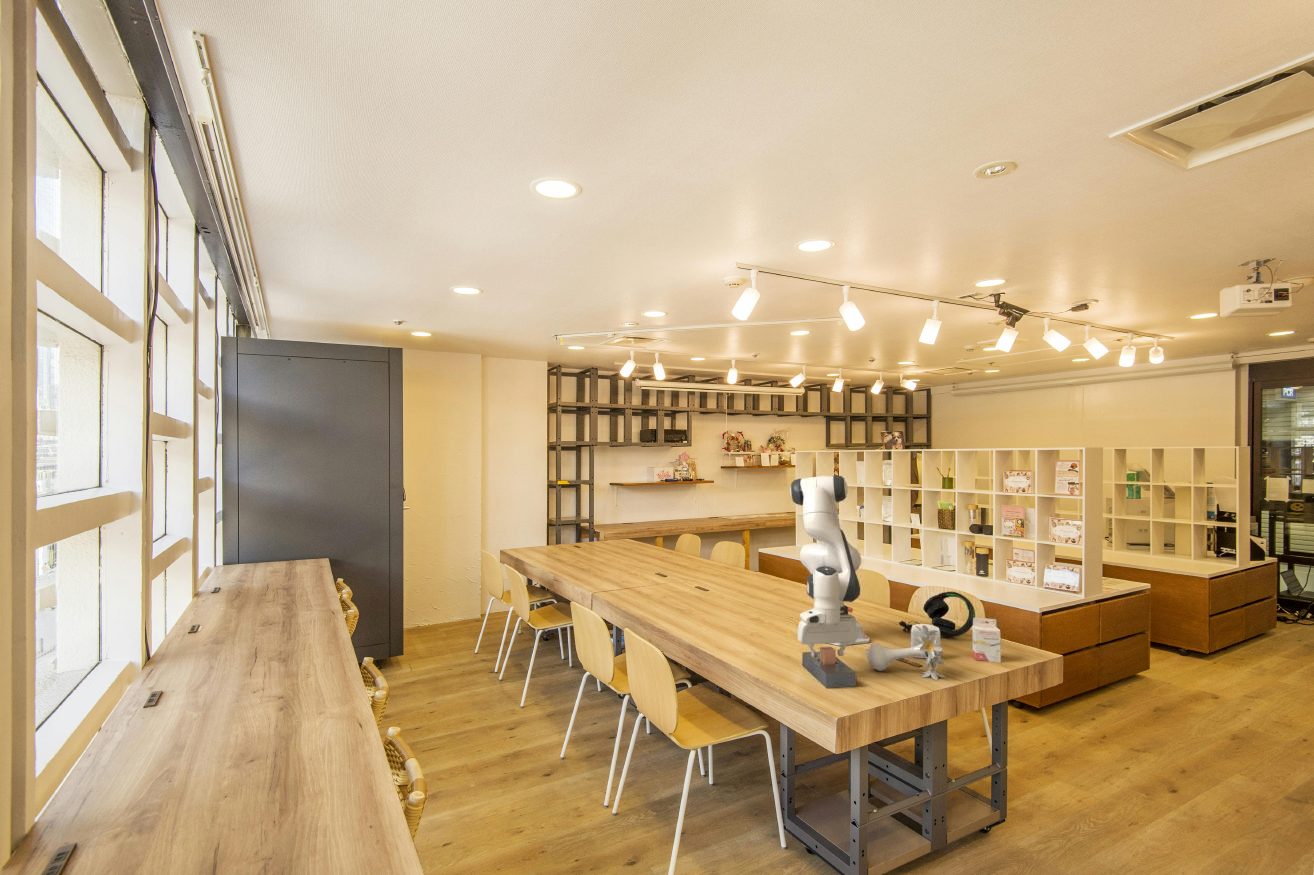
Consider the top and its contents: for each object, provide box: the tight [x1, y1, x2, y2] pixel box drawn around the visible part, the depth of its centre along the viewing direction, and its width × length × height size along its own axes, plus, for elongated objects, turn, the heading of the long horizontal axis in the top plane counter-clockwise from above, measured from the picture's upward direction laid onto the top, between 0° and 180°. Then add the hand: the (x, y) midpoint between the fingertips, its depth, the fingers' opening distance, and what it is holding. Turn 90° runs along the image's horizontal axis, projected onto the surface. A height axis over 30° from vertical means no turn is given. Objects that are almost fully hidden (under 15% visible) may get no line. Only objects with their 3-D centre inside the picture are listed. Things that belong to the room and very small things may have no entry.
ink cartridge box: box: [971, 617, 1002, 663], centre depth 228 cm, size 9×5×15 cm, turn 76°
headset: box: [898, 591, 976, 638], centre depth 260 cm, size 18×14×29 cm
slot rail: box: [801, 651, 857, 689], centre depth 212 cm, size 10×22×5 cm, turn 7°
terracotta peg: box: [819, 646, 837, 665], centre depth 212 cm, size 4×4×8 cm
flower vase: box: [865, 625, 946, 681], centre depth 215 cm, size 13×18×25 cm
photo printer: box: [910, 623, 942, 660], centre depth 231 cm, size 10×4×12 cm, turn 73°
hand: (827, 655), depth 212 cm, fingers open, 8 cm apart
